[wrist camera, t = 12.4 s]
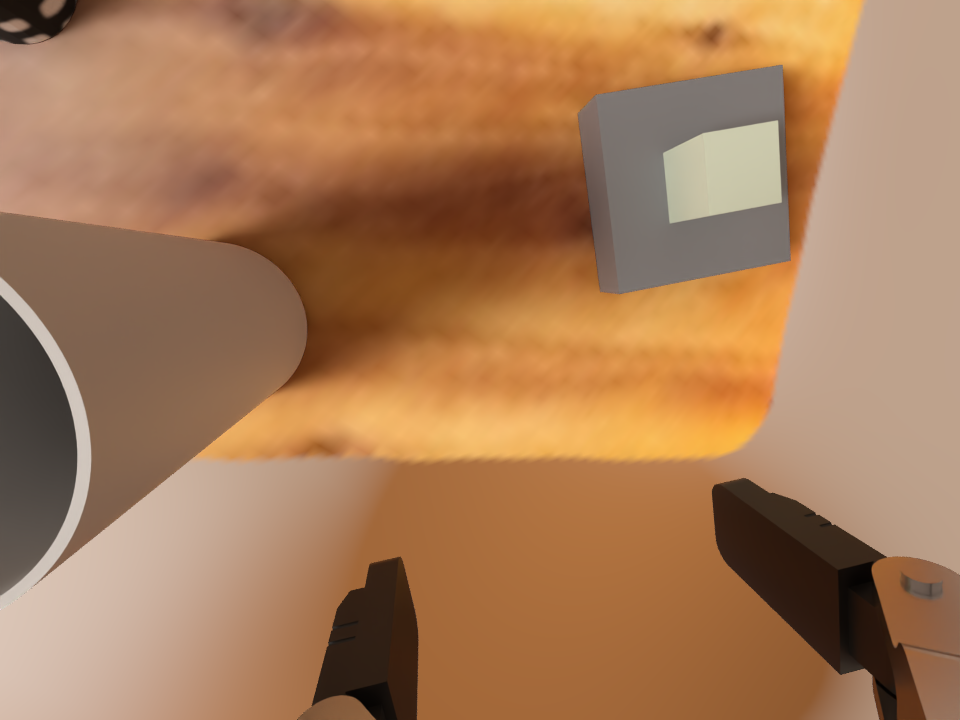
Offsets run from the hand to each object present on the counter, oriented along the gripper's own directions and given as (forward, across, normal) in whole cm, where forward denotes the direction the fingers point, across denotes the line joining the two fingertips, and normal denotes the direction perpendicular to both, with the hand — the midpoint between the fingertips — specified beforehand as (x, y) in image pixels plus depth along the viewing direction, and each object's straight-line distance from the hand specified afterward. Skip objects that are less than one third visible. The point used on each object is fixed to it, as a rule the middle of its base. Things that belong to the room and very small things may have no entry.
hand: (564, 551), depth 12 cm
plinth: (+28, -19, -10) cm, 35 cm away
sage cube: (+24, -19, -10) cm, 32 cm away
